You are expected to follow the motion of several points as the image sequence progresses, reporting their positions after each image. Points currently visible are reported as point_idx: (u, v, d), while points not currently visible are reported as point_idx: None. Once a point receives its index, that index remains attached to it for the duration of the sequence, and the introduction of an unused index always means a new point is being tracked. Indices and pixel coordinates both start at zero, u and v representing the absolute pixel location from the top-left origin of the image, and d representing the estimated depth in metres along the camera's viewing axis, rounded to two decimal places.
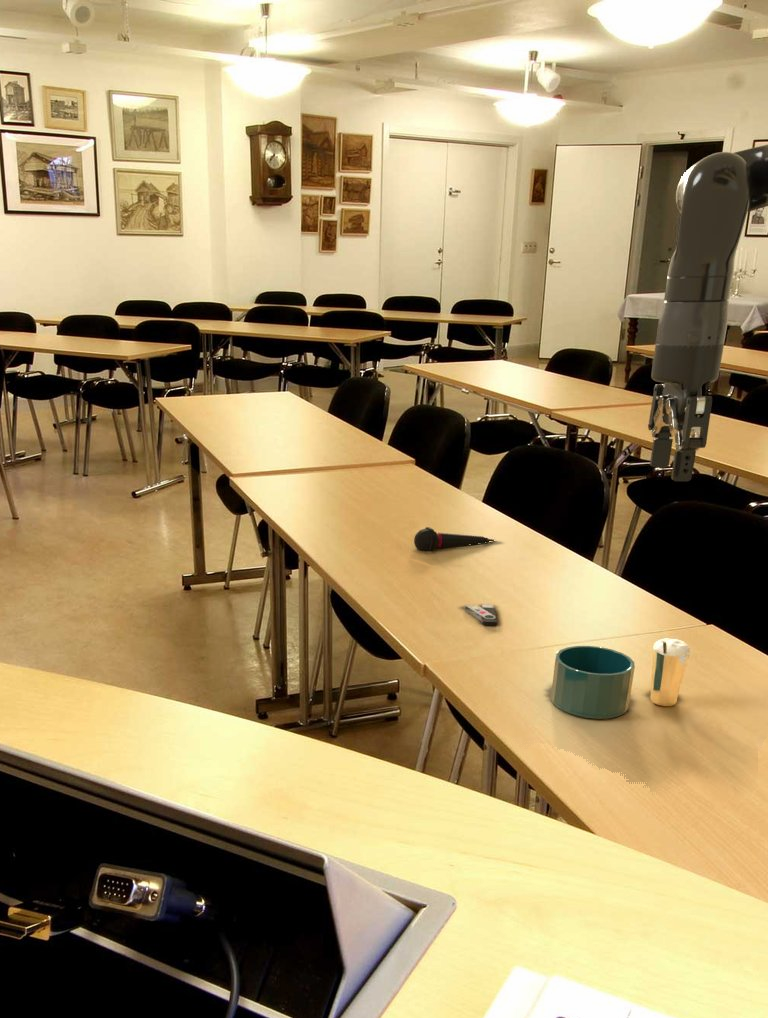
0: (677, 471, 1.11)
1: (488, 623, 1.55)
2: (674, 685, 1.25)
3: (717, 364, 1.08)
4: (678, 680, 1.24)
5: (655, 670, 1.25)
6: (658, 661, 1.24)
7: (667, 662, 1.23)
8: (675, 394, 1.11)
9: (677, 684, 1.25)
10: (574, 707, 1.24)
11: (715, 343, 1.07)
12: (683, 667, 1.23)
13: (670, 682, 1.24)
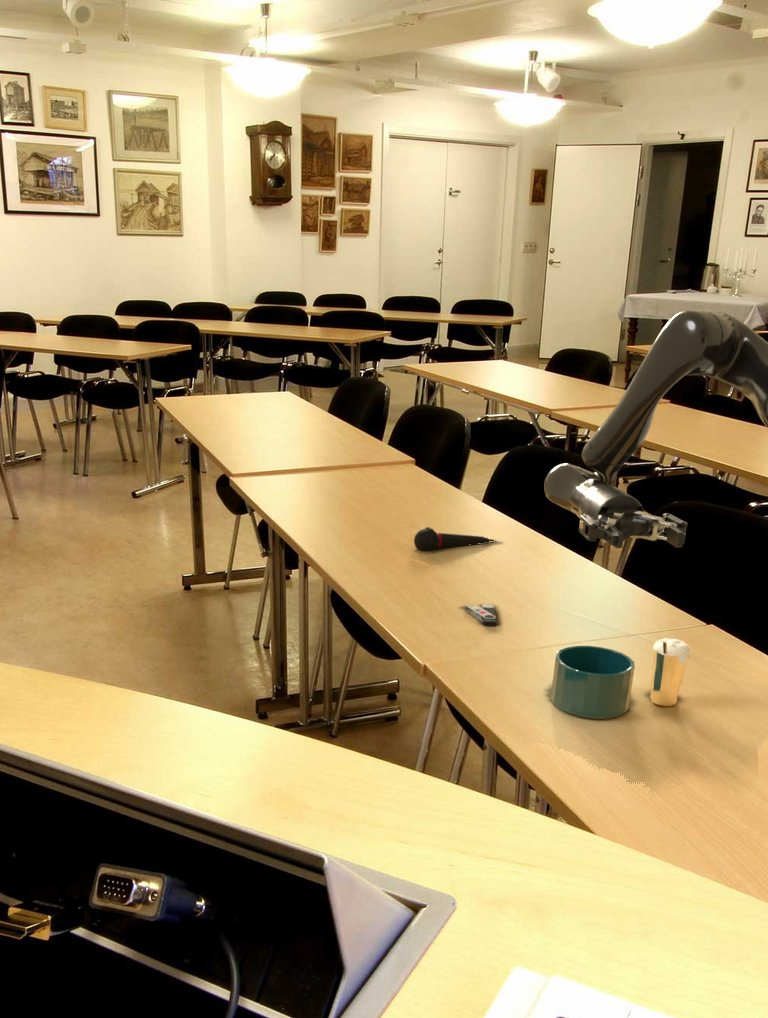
0: None
1: (488, 623, 1.55)
2: (674, 685, 1.25)
3: (601, 499, 1.41)
4: (678, 680, 1.24)
5: (655, 670, 1.25)
6: (658, 661, 1.24)
7: (667, 662, 1.23)
8: None
9: (677, 684, 1.25)
10: (574, 707, 1.24)
11: (591, 501, 1.44)
12: (683, 667, 1.23)
13: (670, 682, 1.24)
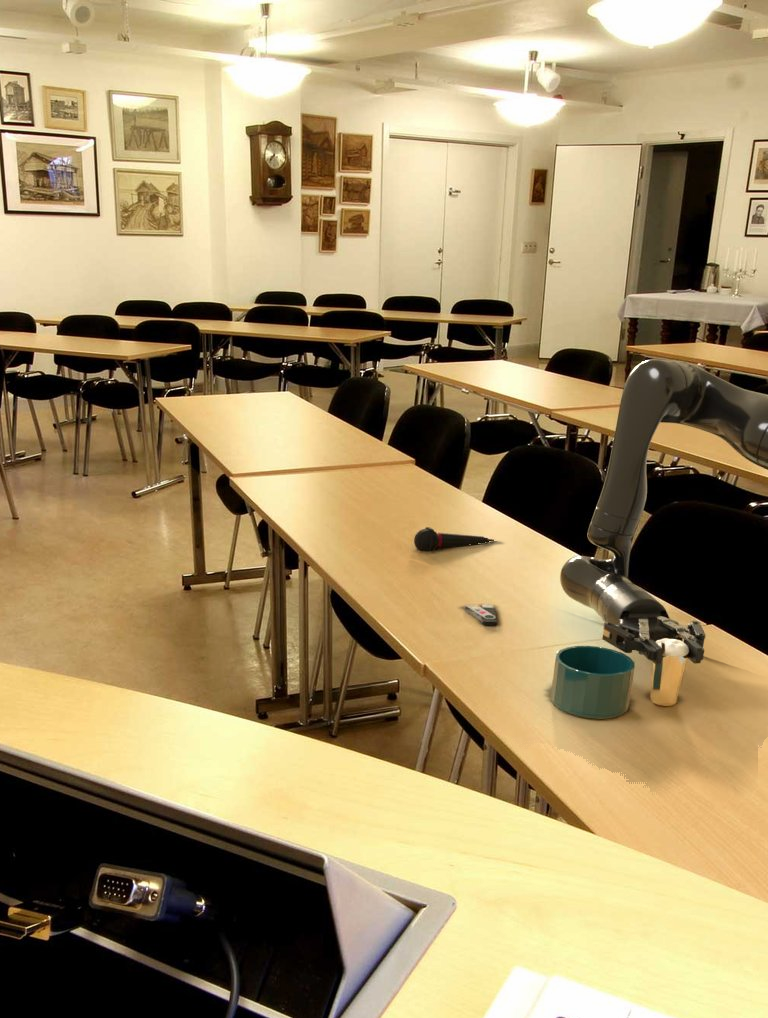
0: None
1: (488, 623, 1.55)
2: (673, 685, 1.25)
3: (622, 601, 1.34)
4: (677, 680, 1.24)
5: (654, 670, 1.25)
6: None
7: (666, 662, 1.23)
8: None
9: (677, 684, 1.24)
10: (574, 707, 1.24)
11: (611, 602, 1.37)
12: (682, 667, 1.23)
13: (669, 682, 1.24)
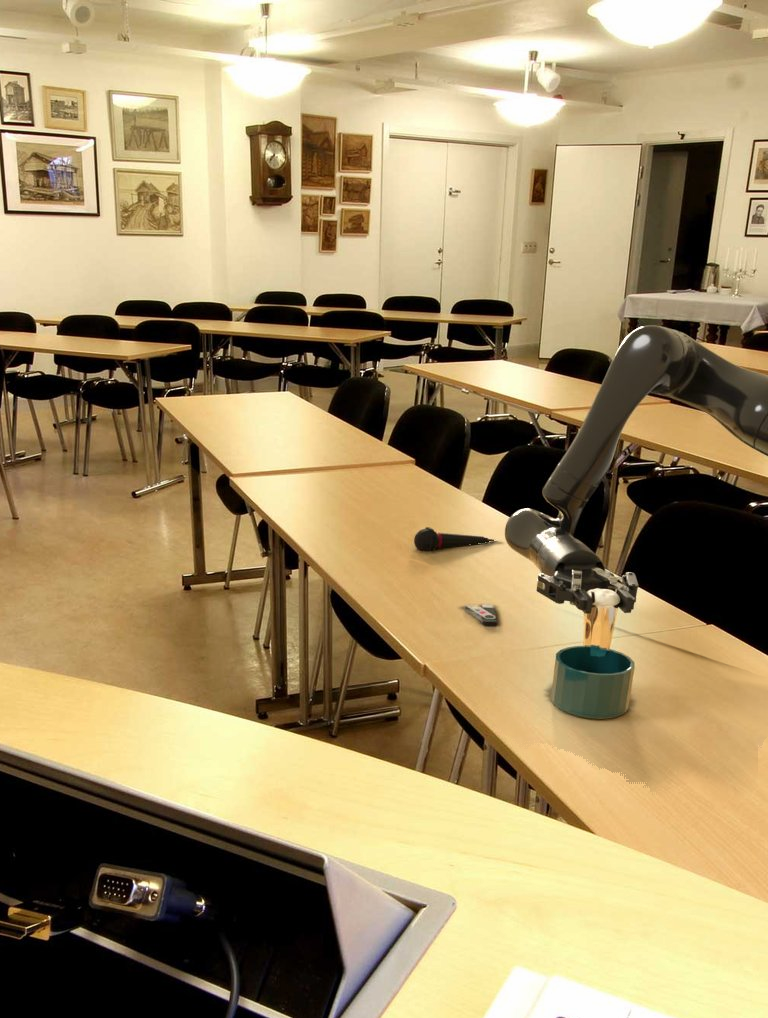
0: None
1: (488, 623, 1.55)
2: (605, 636, 1.23)
3: (558, 553, 1.32)
4: (609, 630, 1.22)
5: (586, 621, 1.23)
6: None
7: (596, 612, 1.21)
8: None
9: (608, 634, 1.22)
10: (574, 707, 1.24)
11: (548, 554, 1.34)
12: (613, 617, 1.21)
13: (601, 633, 1.22)
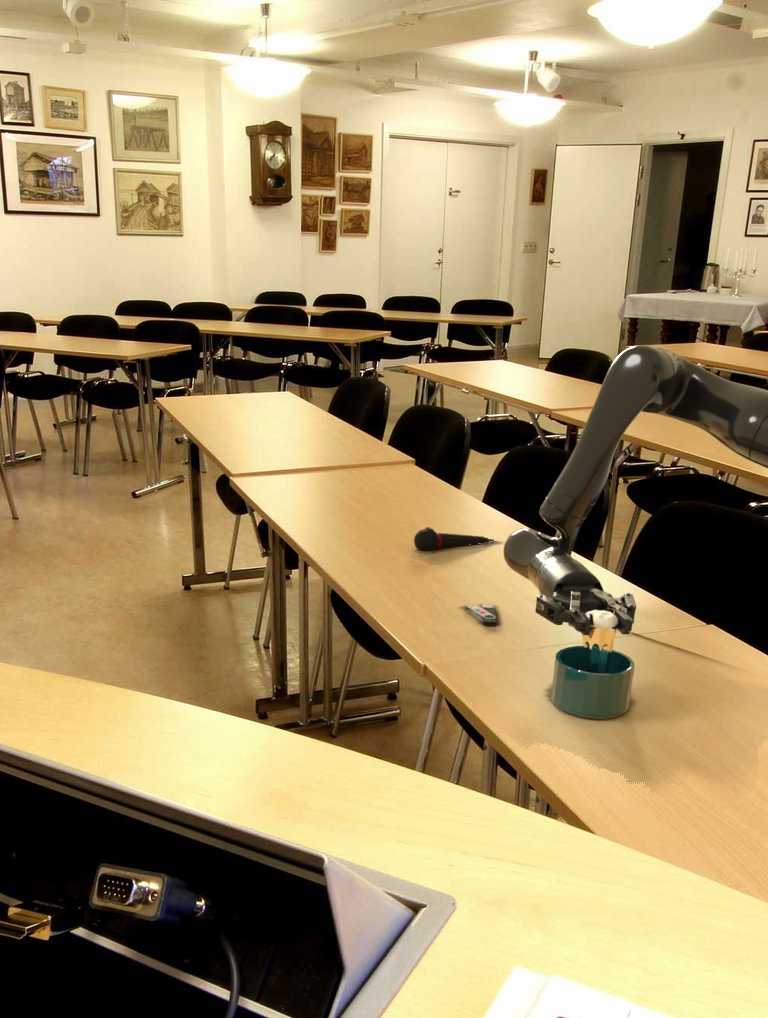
0: None
1: (488, 623, 1.55)
2: (603, 657, 1.24)
3: (557, 574, 1.33)
4: (607, 652, 1.23)
5: (584, 642, 1.24)
6: None
7: (595, 634, 1.22)
8: None
9: (606, 656, 1.23)
10: (574, 707, 1.24)
11: (547, 575, 1.35)
12: (611, 638, 1.22)
13: (599, 654, 1.23)
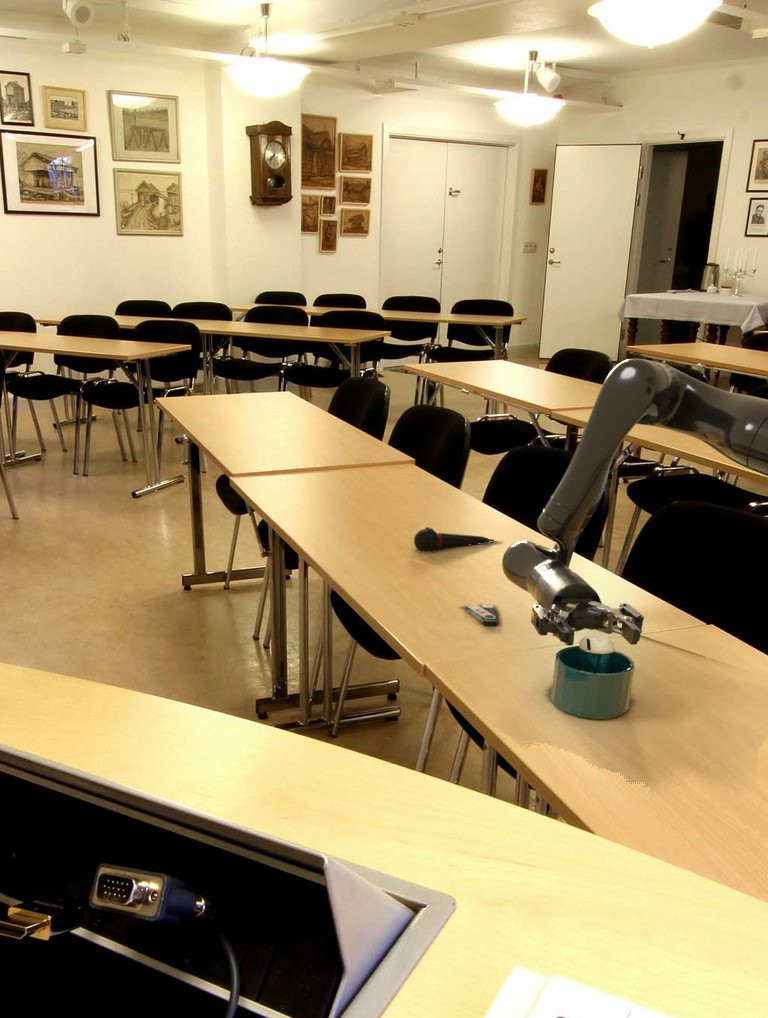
0: None
1: (488, 623, 1.55)
2: None
3: (555, 587, 1.34)
4: None
5: (581, 666, 1.26)
6: (583, 657, 1.25)
7: (591, 658, 1.24)
8: None
9: None
10: (574, 707, 1.24)
11: (545, 587, 1.36)
12: (608, 663, 1.24)
13: None
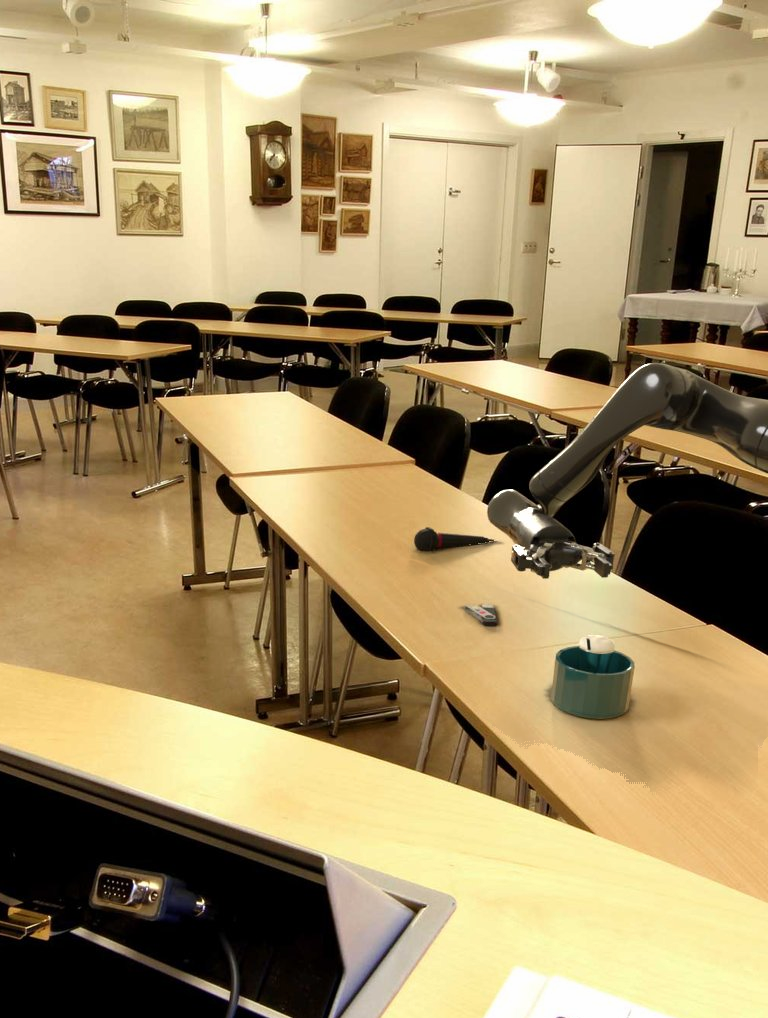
0: None
1: (488, 623, 1.55)
2: None
3: (534, 529, 1.43)
4: None
5: (581, 666, 1.26)
6: (583, 657, 1.25)
7: (591, 658, 1.24)
8: None
9: None
10: (574, 707, 1.24)
11: (525, 531, 1.46)
12: (608, 663, 1.24)
13: None
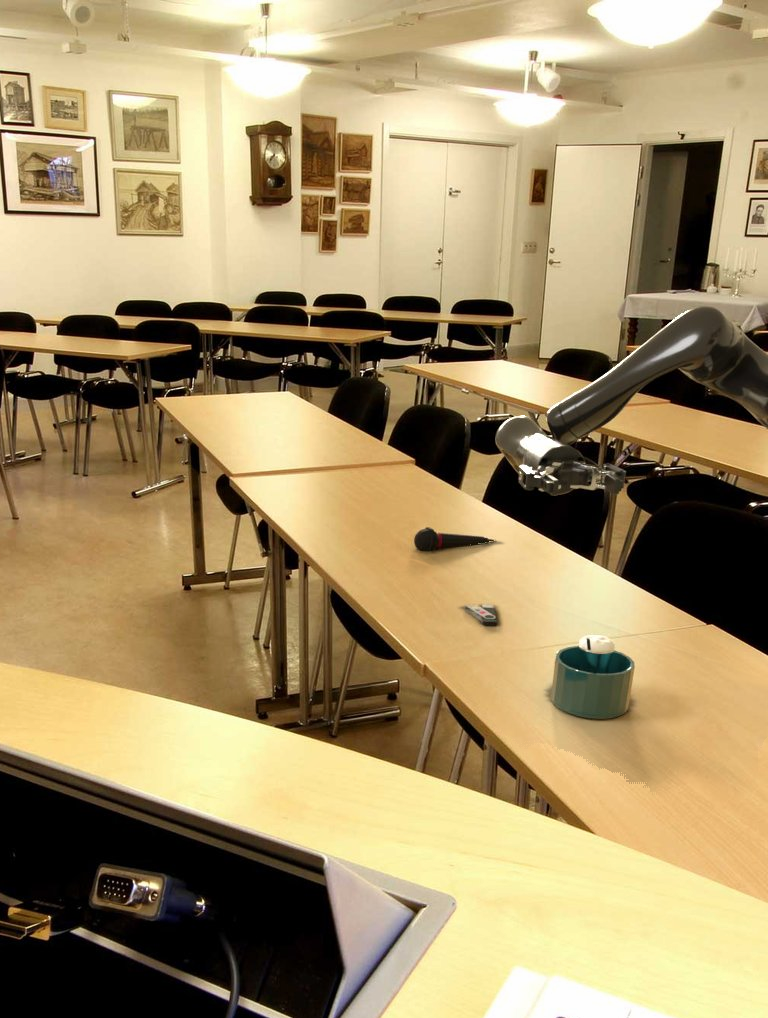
0: None
1: (488, 623, 1.55)
2: None
3: (542, 450, 1.39)
4: None
5: (581, 666, 1.26)
6: (583, 657, 1.25)
7: (591, 658, 1.24)
8: None
9: None
10: (574, 707, 1.24)
11: (532, 453, 1.42)
12: (608, 663, 1.24)
13: None
